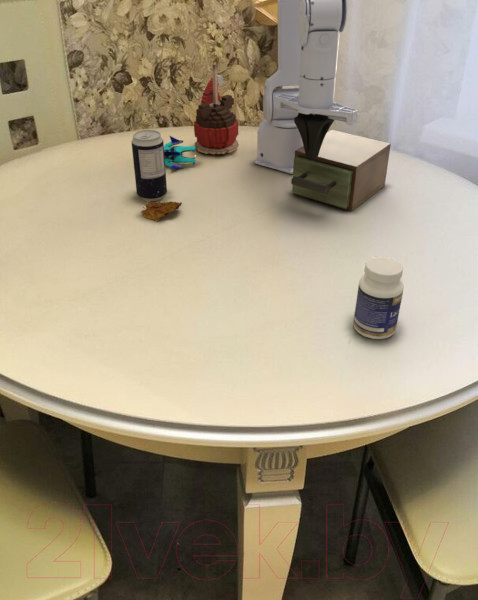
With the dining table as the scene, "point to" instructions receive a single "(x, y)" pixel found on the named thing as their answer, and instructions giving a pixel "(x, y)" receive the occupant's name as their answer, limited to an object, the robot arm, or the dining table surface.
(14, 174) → the dining table surface
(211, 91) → the cake
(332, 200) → the drawer
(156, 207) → the leaf
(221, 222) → the dining table surface
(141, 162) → the beverage can
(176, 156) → the figurine
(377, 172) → the cabinet
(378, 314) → the pill bottle
